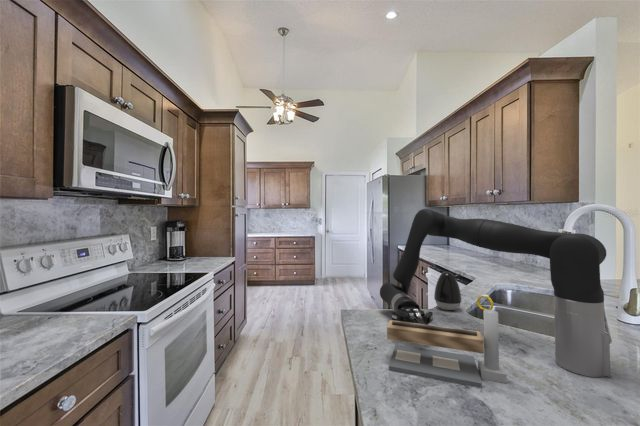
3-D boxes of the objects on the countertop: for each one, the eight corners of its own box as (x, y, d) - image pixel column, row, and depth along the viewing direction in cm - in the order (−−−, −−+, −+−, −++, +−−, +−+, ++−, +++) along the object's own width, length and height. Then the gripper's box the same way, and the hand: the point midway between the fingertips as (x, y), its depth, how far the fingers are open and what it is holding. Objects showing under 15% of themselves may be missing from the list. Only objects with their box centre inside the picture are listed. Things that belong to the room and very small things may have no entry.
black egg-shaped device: (465, 313, 110) (465, 274, 110) (437, 312, 111) (437, 273, 111) (457, 305, 120) (456, 269, 120) (431, 304, 121) (431, 269, 122)
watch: (494, 311, 112) (495, 297, 112) (490, 313, 111) (491, 298, 111) (479, 306, 117) (480, 292, 117) (475, 307, 116) (476, 293, 116)
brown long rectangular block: (479, 343, 70) (479, 329, 70) (483, 353, 65) (483, 338, 65) (390, 330, 78) (389, 317, 78) (387, 338, 73) (386, 325, 73)
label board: (497, 364, 72) (496, 305, 72) (511, 393, 59) (510, 322, 60) (395, 347, 81) (394, 295, 81) (389, 370, 69) (388, 308, 69)
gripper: (384, 295, 94) (397, 313, 77) (424, 296, 94) (446, 313, 77) (385, 318, 94) (397, 340, 77) (424, 318, 94) (446, 341, 76)
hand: (421, 327), depth 77 cm, fingers closed
